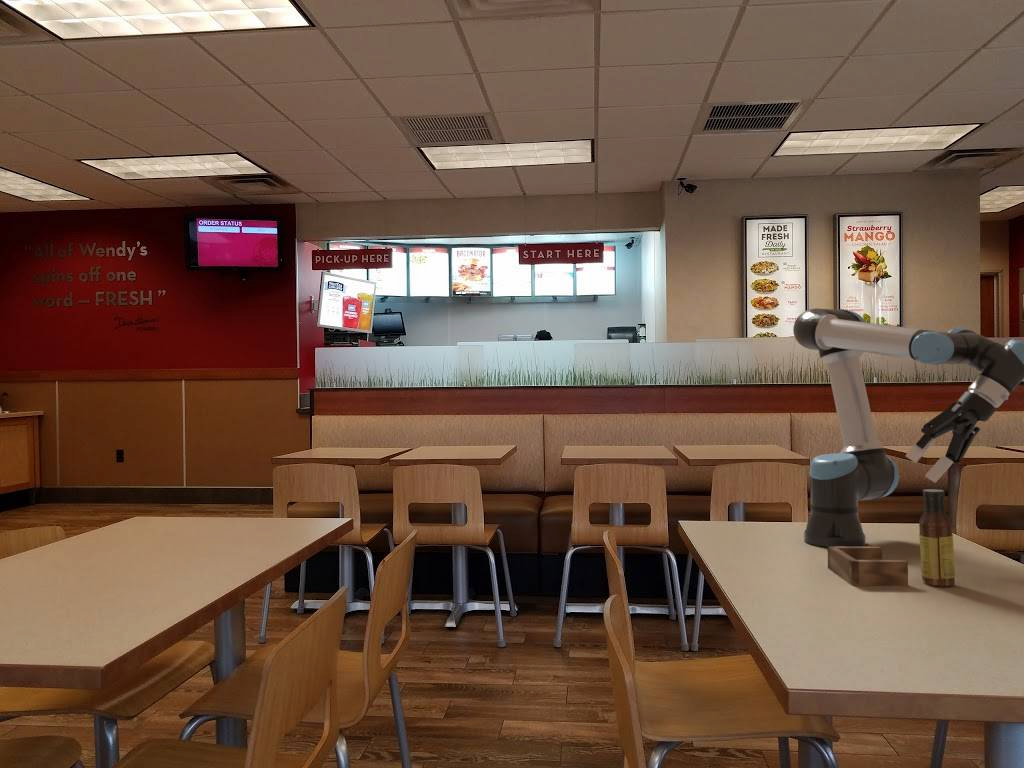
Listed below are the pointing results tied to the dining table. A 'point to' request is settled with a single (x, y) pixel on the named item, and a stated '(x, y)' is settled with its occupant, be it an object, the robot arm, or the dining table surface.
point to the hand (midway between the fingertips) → (920, 469)
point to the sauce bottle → (936, 541)
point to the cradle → (866, 566)
